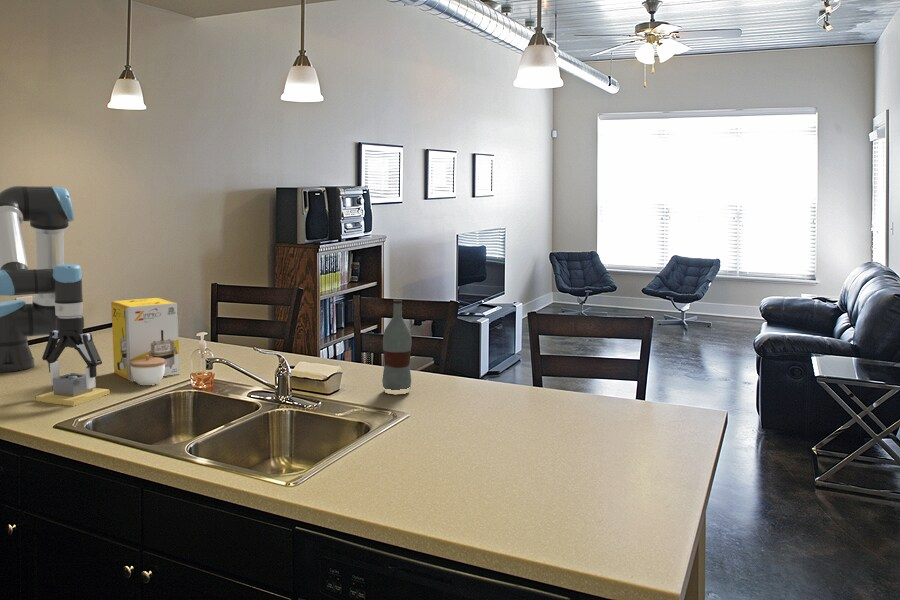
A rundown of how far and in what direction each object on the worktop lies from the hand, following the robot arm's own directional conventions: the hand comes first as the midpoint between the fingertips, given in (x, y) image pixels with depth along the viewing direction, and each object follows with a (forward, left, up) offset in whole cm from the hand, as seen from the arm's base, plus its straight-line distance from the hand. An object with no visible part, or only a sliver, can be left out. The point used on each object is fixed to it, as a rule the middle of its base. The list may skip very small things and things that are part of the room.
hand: (73, 385), depth 224 cm
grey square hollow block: (0, 0, -2) cm, 2 cm away
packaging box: (-1, +33, -4) cm, 33 cm away
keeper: (0, 0, -4) cm, 4 cm away
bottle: (+88, +43, -4) cm, 98 cm away
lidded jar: (+9, +22, -4) cm, 24 cm away
